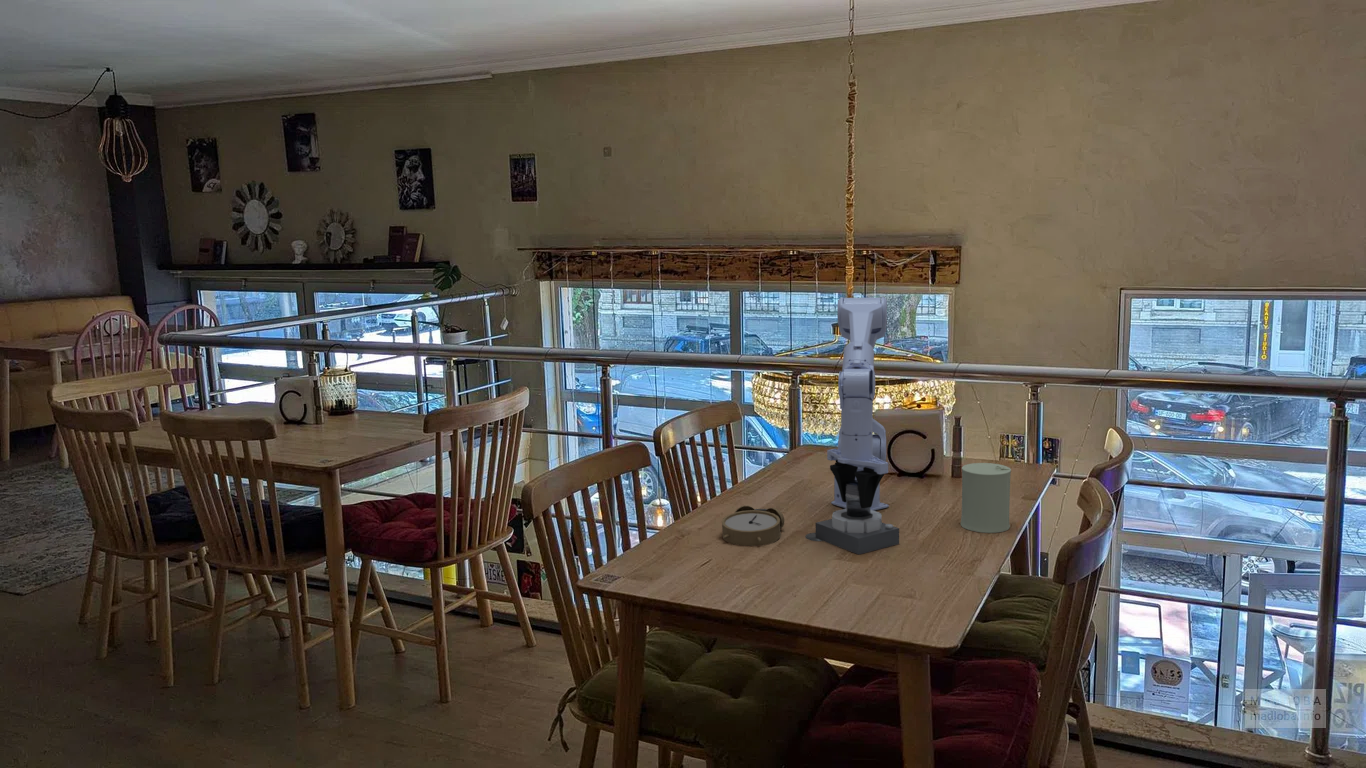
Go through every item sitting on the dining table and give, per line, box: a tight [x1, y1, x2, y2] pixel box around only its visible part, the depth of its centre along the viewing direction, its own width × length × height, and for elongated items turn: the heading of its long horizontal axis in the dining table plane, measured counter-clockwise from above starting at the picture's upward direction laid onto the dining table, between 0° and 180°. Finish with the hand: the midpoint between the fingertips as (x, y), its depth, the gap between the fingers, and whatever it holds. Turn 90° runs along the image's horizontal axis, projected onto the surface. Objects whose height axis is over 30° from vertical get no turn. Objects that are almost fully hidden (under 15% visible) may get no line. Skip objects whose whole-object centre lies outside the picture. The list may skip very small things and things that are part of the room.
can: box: [960, 462, 1012, 534], centre depth 188 cm, size 9×9×12 cm
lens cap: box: [804, 532, 824, 542], centre depth 185 cm, size 5×5×1 cm
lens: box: [845, 480, 871, 517], centre depth 181 cm, size 5×5×6 cm
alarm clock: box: [721, 505, 785, 547], centre depth 188 cm, size 11×5×15 cm
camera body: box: [815, 508, 900, 555], centre depth 182 cm, size 12×10×5 cm
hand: (856, 504), depth 181 cm, fingers closed on lens, 5 cm apart
